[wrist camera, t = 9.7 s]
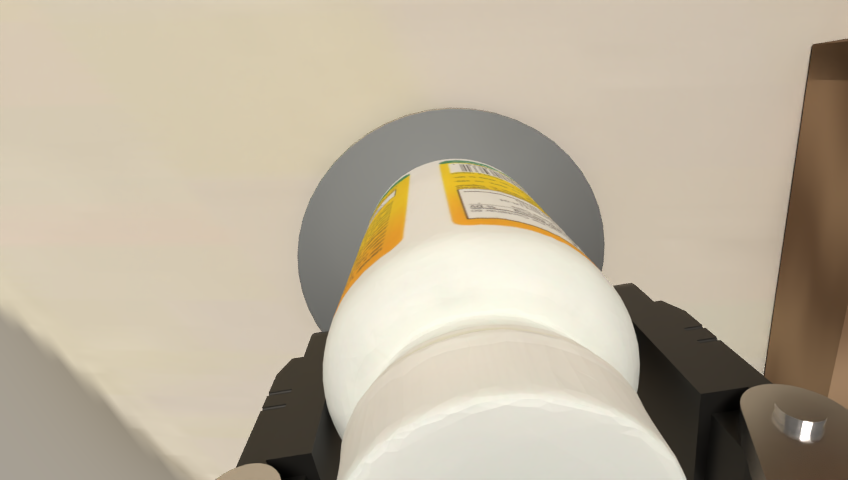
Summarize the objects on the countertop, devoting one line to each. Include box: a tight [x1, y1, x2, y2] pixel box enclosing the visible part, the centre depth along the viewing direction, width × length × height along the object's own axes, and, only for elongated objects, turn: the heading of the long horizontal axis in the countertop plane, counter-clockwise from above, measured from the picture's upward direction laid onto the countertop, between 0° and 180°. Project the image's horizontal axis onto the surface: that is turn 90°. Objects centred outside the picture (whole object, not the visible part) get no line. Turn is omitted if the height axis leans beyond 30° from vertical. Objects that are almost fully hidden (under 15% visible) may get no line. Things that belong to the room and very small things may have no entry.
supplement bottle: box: [323, 159, 686, 480], centre depth 9 cm, size 5×5×10 cm
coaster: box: [298, 108, 604, 332], centre depth 14 cm, size 10×10×1 cm
